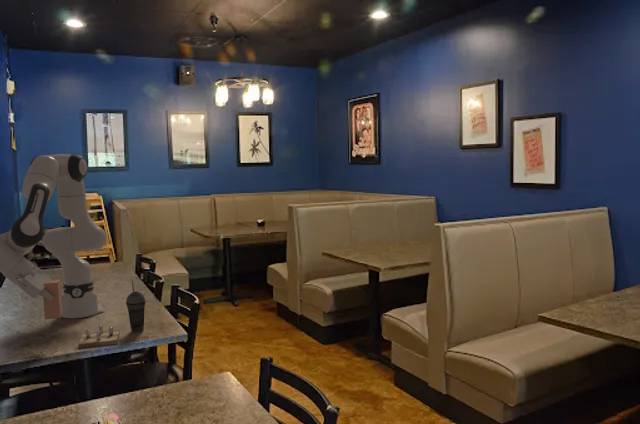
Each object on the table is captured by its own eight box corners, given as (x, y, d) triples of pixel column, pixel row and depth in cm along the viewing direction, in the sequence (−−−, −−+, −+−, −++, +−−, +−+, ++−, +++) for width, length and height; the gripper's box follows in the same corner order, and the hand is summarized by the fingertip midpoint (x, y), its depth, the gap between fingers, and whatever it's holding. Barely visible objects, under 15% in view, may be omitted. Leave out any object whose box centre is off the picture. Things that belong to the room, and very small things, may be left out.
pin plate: (83, 337, 200) (82, 325, 200) (119, 333, 204) (119, 321, 204) (78, 348, 188) (77, 336, 188) (117, 343, 192) (116, 331, 191)
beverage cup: (138, 334, 202) (135, 283, 200) (123, 332, 204) (120, 282, 203) (151, 328, 209) (148, 279, 207) (136, 327, 211) (133, 278, 209)
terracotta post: (47, 315, 192) (45, 280, 191) (62, 314, 194) (60, 279, 193) (44, 319, 188) (42, 283, 186) (60, 317, 189) (57, 282, 188)
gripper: (21, 271, 177) (55, 296, 181) (34, 260, 196) (65, 284, 200) (7, 285, 176) (42, 310, 180) (22, 273, 196) (53, 296, 199)
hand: (54, 296), depth 190 cm, fingers closed on terracotta post, 5 cm apart
